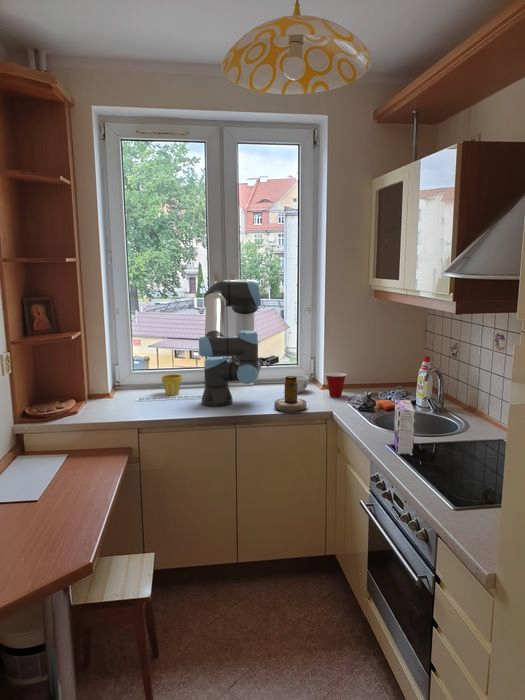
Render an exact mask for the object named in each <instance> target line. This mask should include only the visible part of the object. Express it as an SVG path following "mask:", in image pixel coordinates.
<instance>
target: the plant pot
mask: <svg viewBox="0 0 525 700" xmlns="http://www.w3.org/2000/svg"><path fill="white" fill-rule="evenodd" d="M161 382H162V384H163V387H164V391H165V395H166V396H170V395H173V396H178V395H179V393H180V389H181V383H183V376H182V375H181V374H176V373H174V374H173V373H171V374H165V375H162V376H161Z"/></svg>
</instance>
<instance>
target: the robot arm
mask: <svg viewBox="0 0 525 700" xmlns="http://www.w3.org/2000/svg"><path fill="white" fill-rule="evenodd" d="M259 285H260V284H259V281H258V280H256V279H223V280H219V281H217V282H214V283H213V284H211V285H210V286H209V287H208V288H207V290H206V292H205V294H204V295H203V307H204V308H205V319H204V320H205V321H204V322H205V324H204V336H201V337H199V339H198V353H199V356H200V357H202V358H205V360H204V365H203V370H204V391H203V393H202V396H201V404H202V405H204V406H206V407H214V408H217V407H225V406H229V405H232V404H233V396H232V393H231V390H230V387H229V382H230V383H232V382H234V383H235V382H236V383H237V382H241V383H242V384H244V385H251V384H253V383H254V382H256V380H258V378H259V374H260V370H261V368H262V367H263V366H264V365H265V366H266V367H271V366H272V365H276V364H278V363H279V362H280V357H279V356H278V355H274V352H270V353H271V354H270V355H269V356H265V357H259V340H258V339H259V338H258V336H259V335H258V332H256V330H255V313H256V312H257V311H258V310H259V308H258V307H261V306H262V300H261V292H260V286H259ZM226 307H227V308H228V307H231V310H232V311H233V312H234V313H235V320H234V321H235V336H234V335H233V336H225V311H224V310H225V308H226Z"/></svg>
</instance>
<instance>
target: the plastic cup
mask: <svg viewBox="0 0 525 700" xmlns="http://www.w3.org/2000/svg"><path fill="white" fill-rule="evenodd" d="M346 376H347V374H346V373H344V372H343V373H341V372H328V373H325V377H326V382H327V386H328V387H327V389H328V391H329V392H328V394H329V397H330V396H331V397H330V398H333V397H339V398H341V397H342V394H343V389H344V385H345V380H346Z"/></svg>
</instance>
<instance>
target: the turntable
mask: <svg viewBox="0 0 525 700" xmlns="http://www.w3.org/2000/svg"><path fill="white" fill-rule="evenodd" d="M281 400H284V397H283V398H278V399H276V400H275V401H274V408H275V409H277V410H278V409H279V411H280V410H284V411H297V410H301V411H303V410H304V409H306V408H307V401H306V400H305V399H302V398H297V401H300V402H302V403H299V404H293V405H289V404H287V403H284V402H282V401H281ZM302 409H303V410H302ZM284 411H283V412H284Z"/></svg>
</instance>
